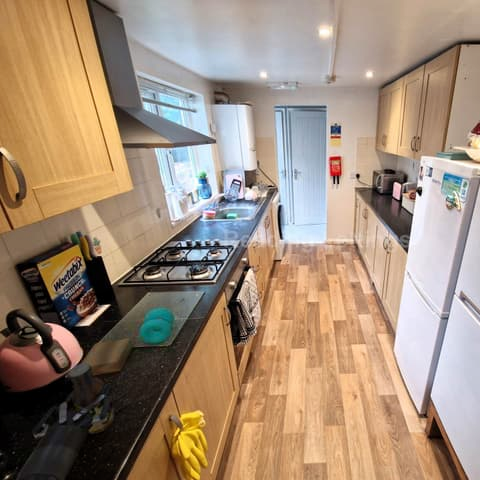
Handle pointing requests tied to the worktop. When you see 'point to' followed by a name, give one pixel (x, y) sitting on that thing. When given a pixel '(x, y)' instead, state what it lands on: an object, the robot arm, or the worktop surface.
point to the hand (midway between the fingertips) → (93, 388)
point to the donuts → (157, 325)
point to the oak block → (108, 356)
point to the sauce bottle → (87, 392)
